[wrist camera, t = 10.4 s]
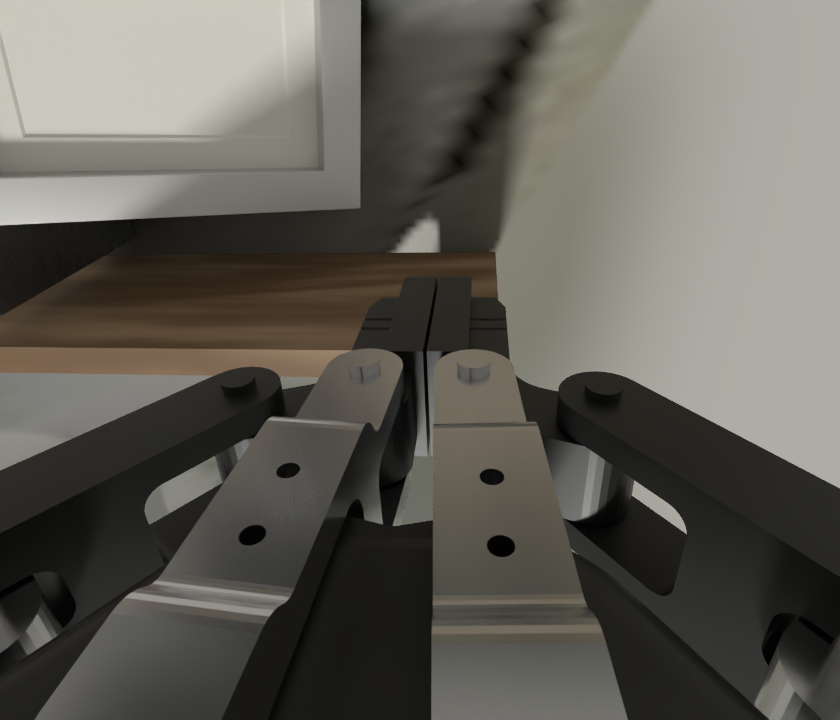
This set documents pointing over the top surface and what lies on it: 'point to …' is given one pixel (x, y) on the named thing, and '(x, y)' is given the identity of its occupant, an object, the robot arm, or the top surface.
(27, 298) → the bookend
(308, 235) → the top surface
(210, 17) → the picture frame
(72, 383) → the top surface
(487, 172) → the top surface
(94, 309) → the shelf back
